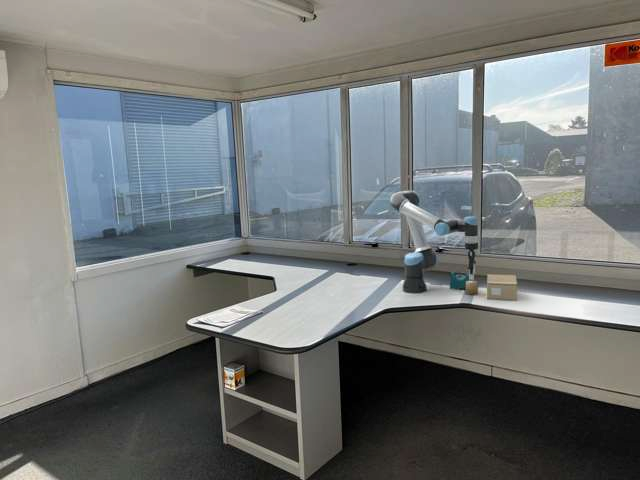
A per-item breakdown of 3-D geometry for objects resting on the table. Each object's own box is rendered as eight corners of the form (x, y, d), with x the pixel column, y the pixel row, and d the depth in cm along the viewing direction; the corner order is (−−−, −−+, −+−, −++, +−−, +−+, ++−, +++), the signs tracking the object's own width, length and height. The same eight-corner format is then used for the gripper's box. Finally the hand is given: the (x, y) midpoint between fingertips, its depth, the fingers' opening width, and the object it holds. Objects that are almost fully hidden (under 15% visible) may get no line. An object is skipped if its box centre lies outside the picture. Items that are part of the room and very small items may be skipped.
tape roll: (470, 295, 271) (470, 283, 270) (463, 292, 278) (463, 281, 277) (480, 293, 273) (480, 282, 272) (472, 291, 280) (472, 280, 279)
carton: (486, 299, 262) (486, 284, 261) (487, 289, 280) (487, 275, 279) (516, 300, 256) (517, 285, 255) (515, 291, 275) (515, 276, 273)
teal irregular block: (466, 291, 282) (468, 275, 280) (449, 288, 288) (451, 272, 285) (472, 284, 298) (474, 268, 296) (456, 281, 303) (457, 266, 301)
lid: (486, 283, 261) (486, 282, 261) (487, 275, 279) (487, 274, 279) (517, 285, 255) (517, 283, 255) (515, 276, 273) (515, 275, 273)
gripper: (477, 245, 258) (477, 282, 261) (478, 238, 280) (479, 272, 284) (463, 246, 260) (464, 281, 263) (466, 239, 283) (466, 271, 286)
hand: (472, 276), depth 274 cm, fingers open, 13 cm apart
